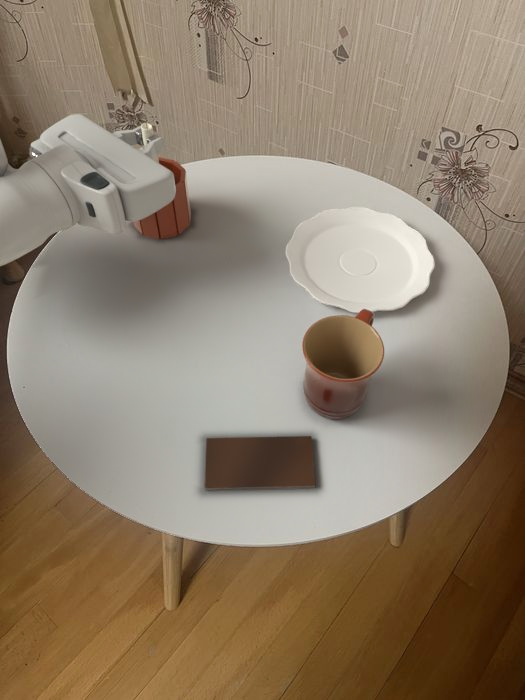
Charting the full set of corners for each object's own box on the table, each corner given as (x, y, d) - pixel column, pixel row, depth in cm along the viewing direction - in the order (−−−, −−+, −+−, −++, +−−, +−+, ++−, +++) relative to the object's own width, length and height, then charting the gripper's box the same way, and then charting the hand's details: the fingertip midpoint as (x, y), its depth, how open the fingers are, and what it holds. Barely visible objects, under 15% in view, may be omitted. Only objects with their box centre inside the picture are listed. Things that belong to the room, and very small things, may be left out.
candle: (183, 207, 88) (171, 114, 75) (172, 229, 85) (157, 136, 72) (151, 201, 88) (134, 108, 76) (139, 223, 85) (119, 130, 73)
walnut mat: (205, 490, 62) (204, 487, 61) (206, 441, 65) (206, 437, 64) (314, 488, 62) (315, 485, 61) (310, 438, 65) (311, 435, 65)
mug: (349, 441, 65) (363, 394, 57) (283, 407, 68) (287, 357, 59) (391, 367, 71) (408, 315, 63) (329, 338, 74) (338, 285, 66)
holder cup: (131, 239, 84) (121, 196, 78) (137, 200, 90) (128, 157, 83) (189, 239, 85) (183, 196, 78) (192, 200, 90) (186, 156, 83)
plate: (461, 272, 81) (464, 264, 80) (356, 344, 73) (358, 336, 72) (359, 197, 91) (360, 189, 89) (257, 254, 83) (257, 246, 81)
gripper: (29, 170, 77) (110, 127, 83) (125, 241, 69) (207, 188, 75) (13, 128, 72) (100, 86, 78) (115, 199, 64) (204, 146, 70)
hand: (154, 136), depth 76 cm, fingers closed on candle
